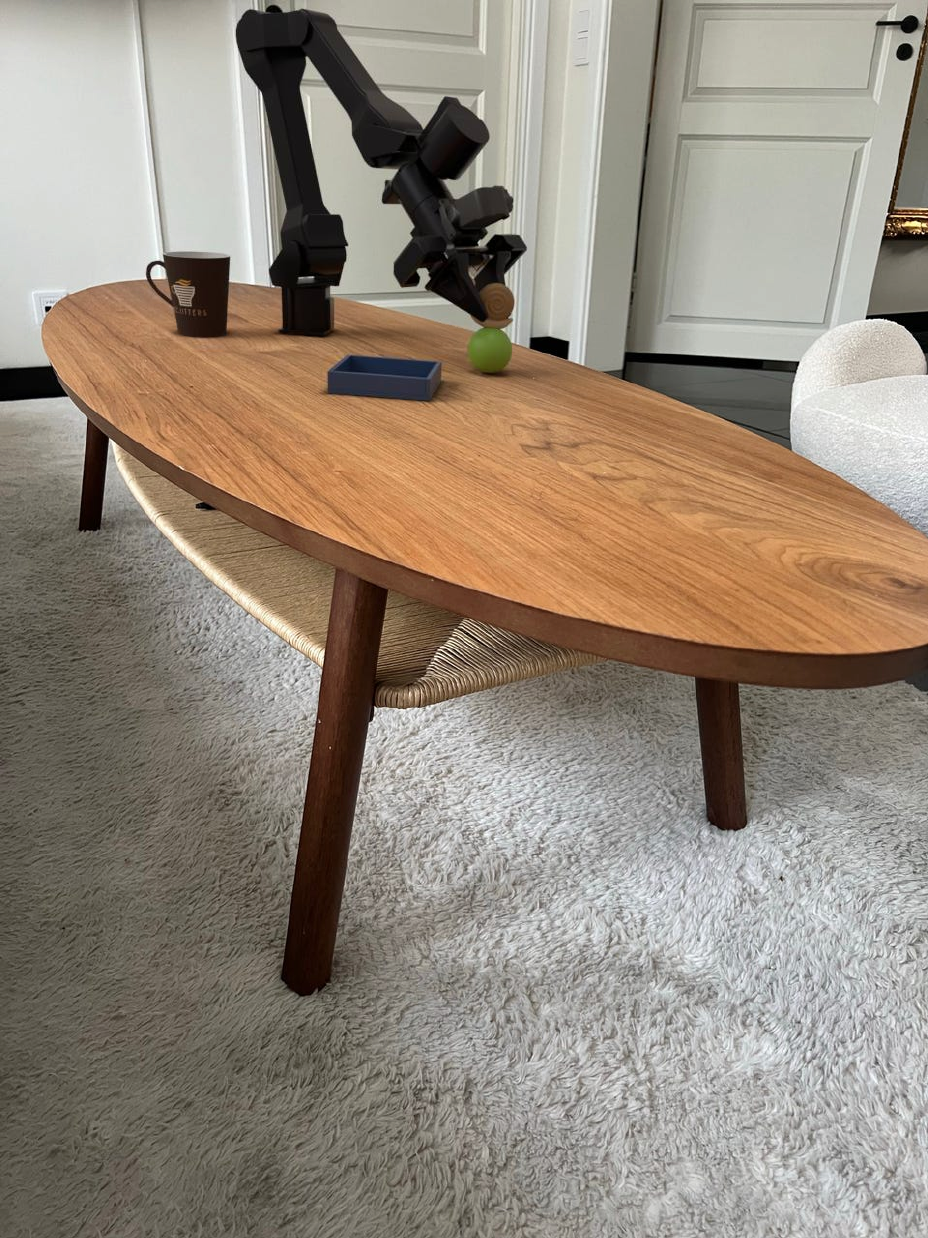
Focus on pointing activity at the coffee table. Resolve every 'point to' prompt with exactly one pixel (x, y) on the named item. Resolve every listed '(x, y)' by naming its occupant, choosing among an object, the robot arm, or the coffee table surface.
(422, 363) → the blue tray
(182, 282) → the coffee mug
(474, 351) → the snail figurine
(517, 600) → the coffee table surface
